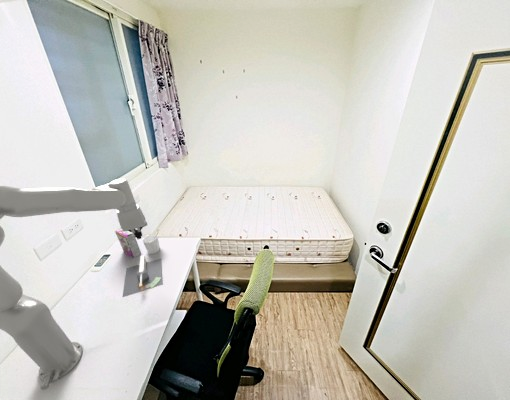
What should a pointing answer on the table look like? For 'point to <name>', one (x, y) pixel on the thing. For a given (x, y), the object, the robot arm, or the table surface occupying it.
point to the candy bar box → (128, 242)
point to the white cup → (151, 243)
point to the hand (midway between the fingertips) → (139, 237)
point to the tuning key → (142, 271)
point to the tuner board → (154, 280)
